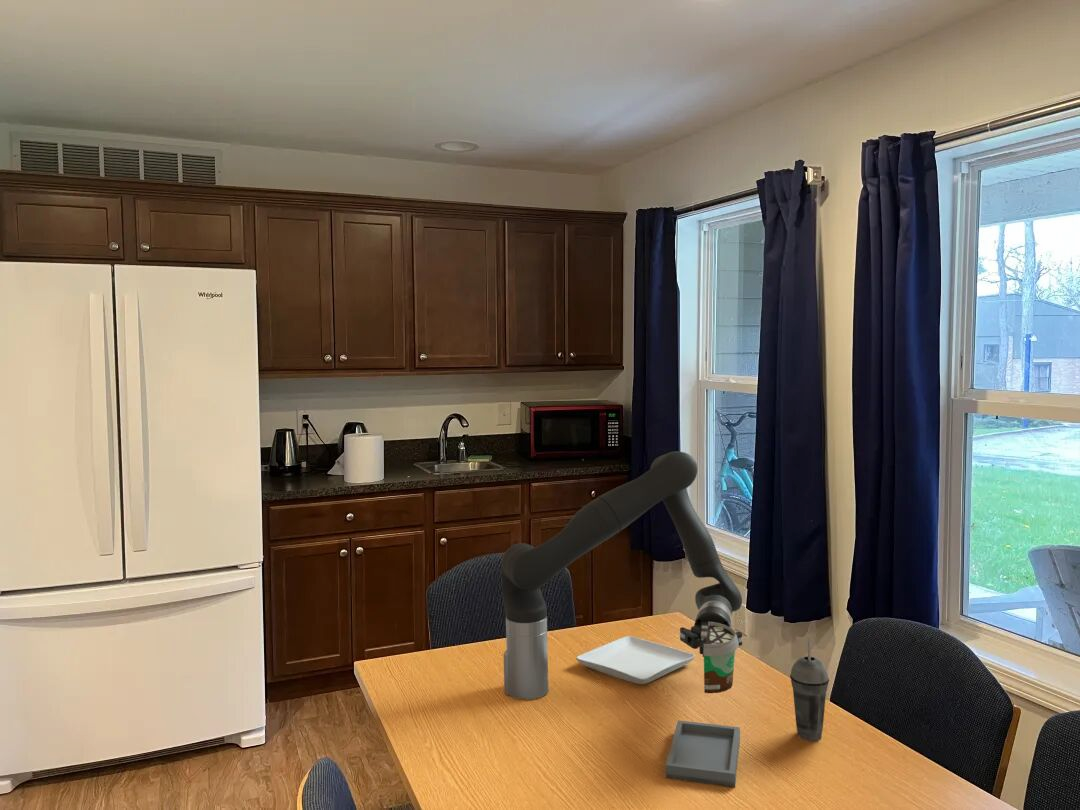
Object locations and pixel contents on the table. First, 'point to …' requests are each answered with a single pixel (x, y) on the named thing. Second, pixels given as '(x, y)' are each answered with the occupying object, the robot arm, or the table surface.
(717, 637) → the food container
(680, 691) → the table surface
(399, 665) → the table surface
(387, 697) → the table surface
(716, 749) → the tray
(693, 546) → the robot arm
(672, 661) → the salad plate
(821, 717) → the beverage cup
